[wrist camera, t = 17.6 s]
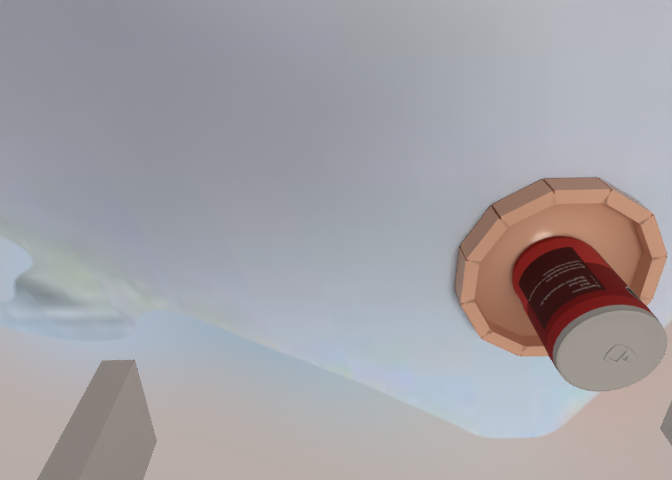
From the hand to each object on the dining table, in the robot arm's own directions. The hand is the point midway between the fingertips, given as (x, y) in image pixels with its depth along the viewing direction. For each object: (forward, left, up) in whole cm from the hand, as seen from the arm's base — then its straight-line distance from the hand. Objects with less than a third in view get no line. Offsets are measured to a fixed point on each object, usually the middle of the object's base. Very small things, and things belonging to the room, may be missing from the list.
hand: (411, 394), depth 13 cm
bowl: (+18, -16, -31) cm, 39 cm away
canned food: (+18, -16, -30) cm, 39 cm away
